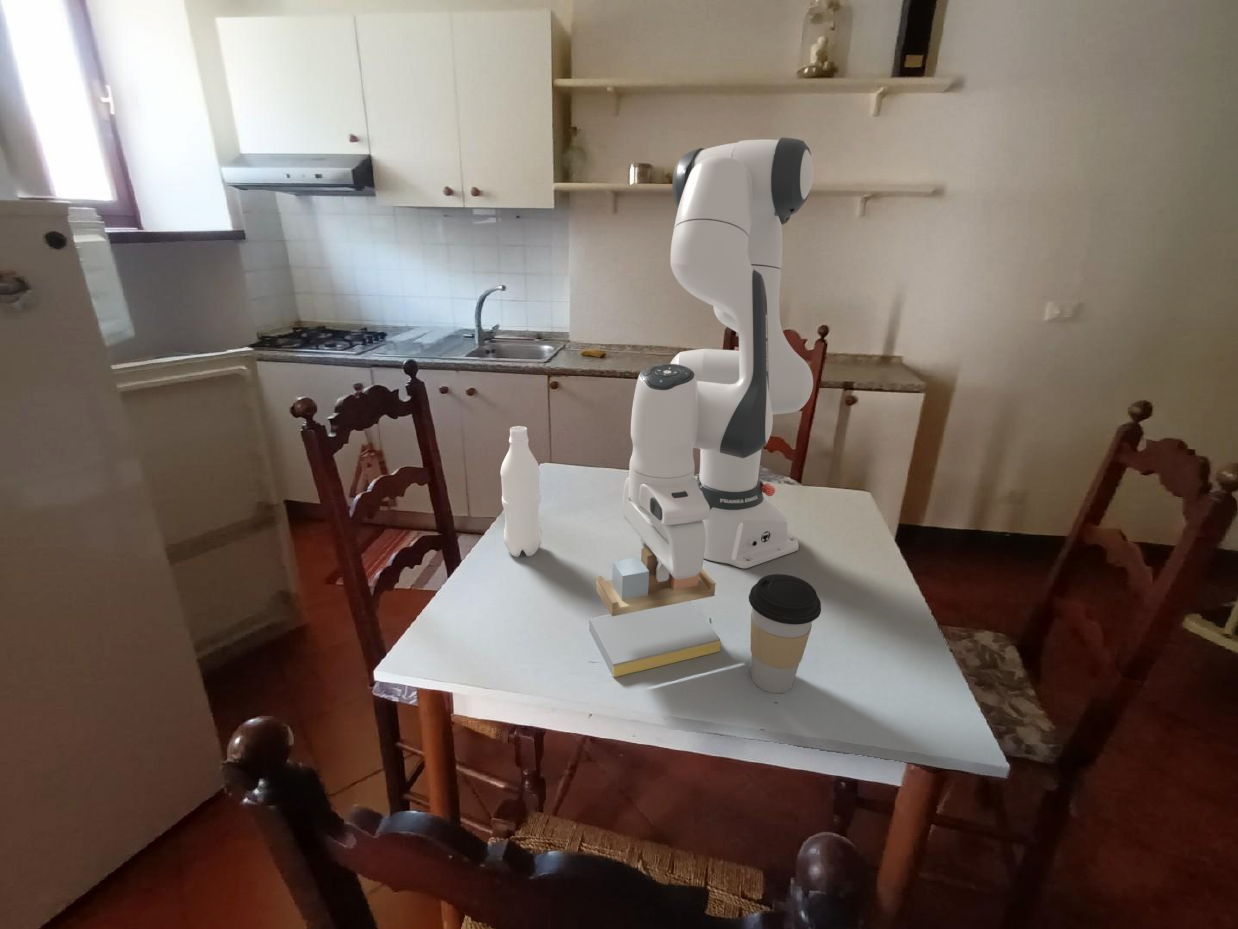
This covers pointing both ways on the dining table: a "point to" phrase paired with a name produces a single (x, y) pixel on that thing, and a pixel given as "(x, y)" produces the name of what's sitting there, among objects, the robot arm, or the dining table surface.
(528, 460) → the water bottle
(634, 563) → the block
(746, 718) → the dining table surface
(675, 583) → the block
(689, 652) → the dock
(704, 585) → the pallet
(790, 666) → the coffee cup
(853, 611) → the dining table surface
